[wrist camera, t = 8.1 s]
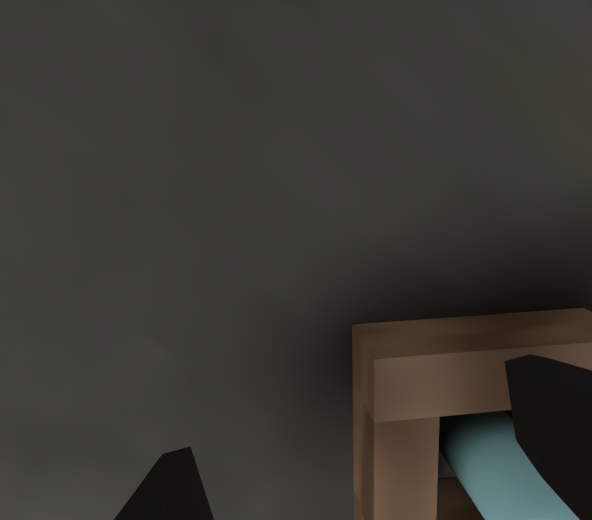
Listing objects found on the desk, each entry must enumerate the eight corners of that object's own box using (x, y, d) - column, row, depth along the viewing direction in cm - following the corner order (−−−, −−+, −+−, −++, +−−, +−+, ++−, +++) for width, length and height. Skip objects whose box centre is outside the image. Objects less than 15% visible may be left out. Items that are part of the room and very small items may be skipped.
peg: (488, 378, 23) (594, 479, 16) (509, 438, 24) (618, 558, 17) (420, 407, 23) (498, 521, 16) (443, 466, 24) (526, 598, 17)
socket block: (583, 307, 23) (644, 337, 19) (564, 511, 25) (615, 569, 22) (351, 324, 22) (373, 359, 18) (353, 534, 24) (374, 600, 21)
